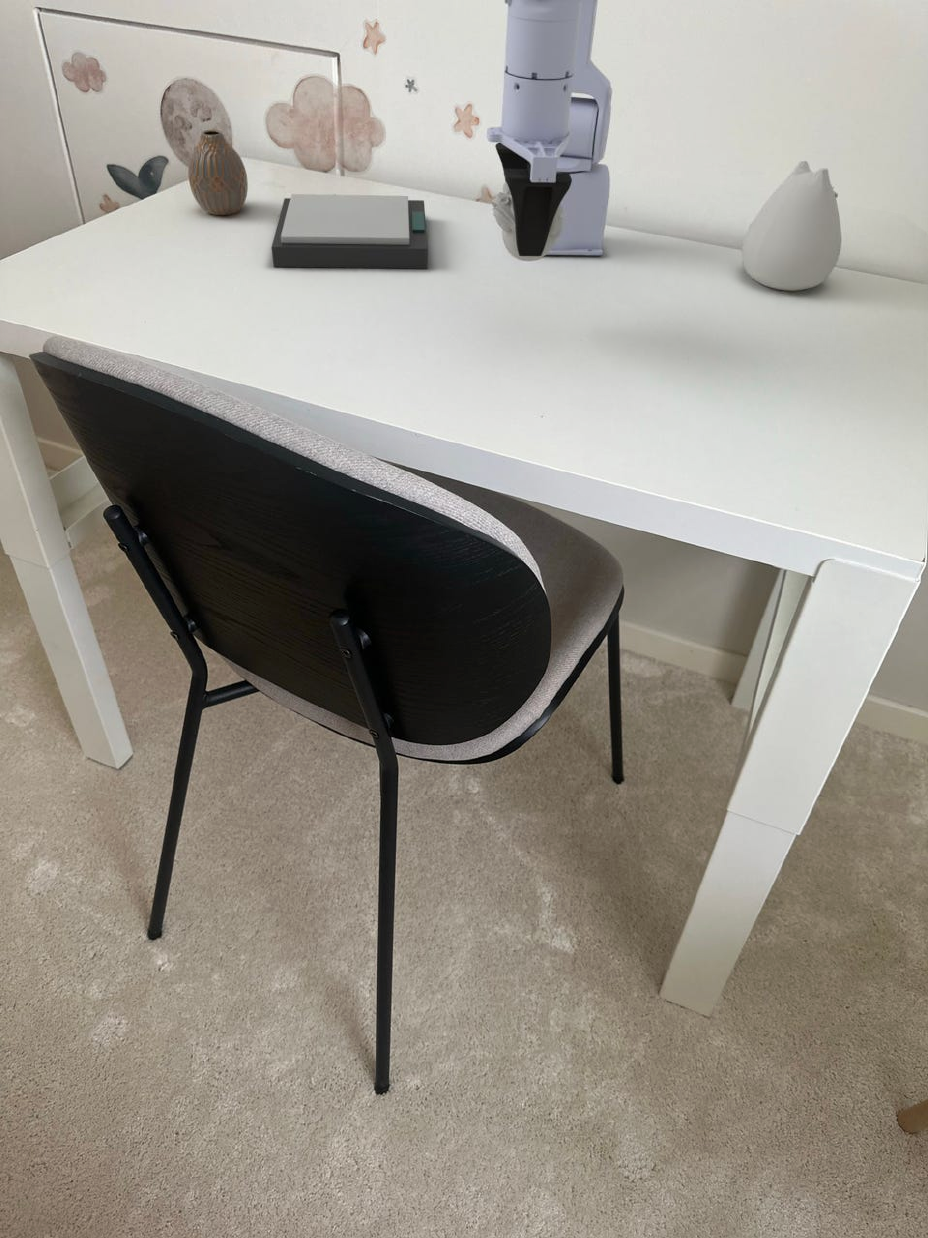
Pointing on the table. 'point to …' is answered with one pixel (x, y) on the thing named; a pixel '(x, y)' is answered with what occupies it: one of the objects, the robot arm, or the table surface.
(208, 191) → the vase
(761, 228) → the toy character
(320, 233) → the scale
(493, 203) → the frog figurine
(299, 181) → the table surface
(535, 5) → the robot arm
